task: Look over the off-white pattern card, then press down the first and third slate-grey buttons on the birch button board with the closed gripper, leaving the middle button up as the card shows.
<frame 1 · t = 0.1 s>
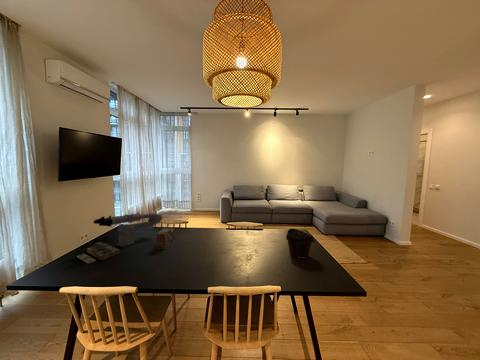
hand: (96, 223, 149), 22 cm above the table, tool horizontal, fingers open, 7 cm apart
button 1: (98, 245, 154), point 4 cm above the table, slide at 0.0 cm
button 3: (107, 249, 147), point 4 cm above the table, slide at 0.0 cm
stack of blocks: (166, 244, 170), on the table
black bin: (299, 255, 155), on the table
button 2: (103, 247, 150), point 4 cm above the table, slide at 0.0 cm
pattern card: (86, 258, 142), on the table
button board: (103, 253, 151), on the table
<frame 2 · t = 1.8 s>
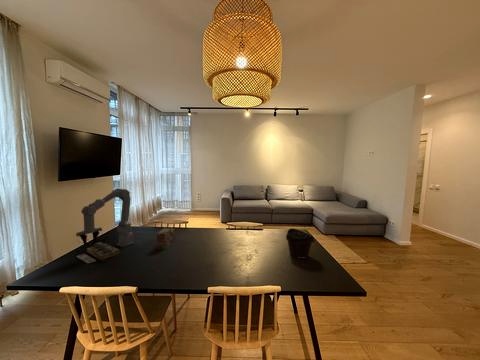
hand: (90, 243, 143), 9 cm above the table, tool pointing down, fingers open, 5 cm apart
nothing on the table moved.
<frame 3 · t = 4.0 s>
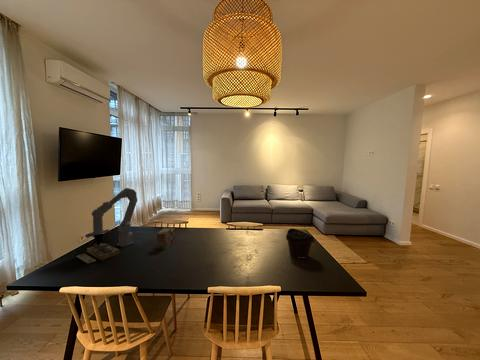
hand: (98, 244, 154), 5 cm above the table, tool pointing down, fingers closed, pressing on button 1
button 1: (98, 246, 154), point 3 cm above the table, slide at 0.8 cm, touching gripper
everything else where it was.
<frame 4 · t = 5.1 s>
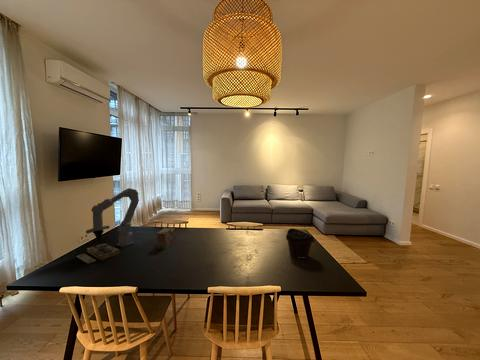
hand: (98, 240, 153), 8 cm above the table, tool pointing down, fingers closed
button 1: (98, 247, 154), point 2 cm above the table, slide at 1.9 cm
everything else where it was.
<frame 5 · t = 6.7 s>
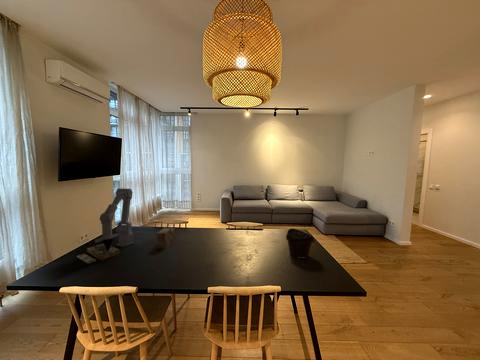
hand: (107, 249, 147), 4 cm above the table, tool pointing down, fingers closed, pressing on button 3
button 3: (107, 251, 147), point 3 cm above the table, slide at 1.3 cm, touching gripper
everything else where it was.
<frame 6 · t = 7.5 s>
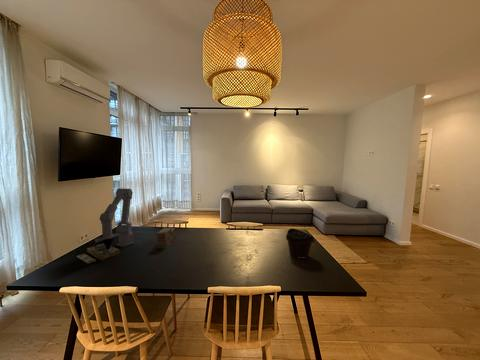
hand: (107, 249, 147), 4 cm above the table, tool pointing down, fingers closed
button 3: (107, 252, 147), point 2 cm above the table, slide at 1.9 cm
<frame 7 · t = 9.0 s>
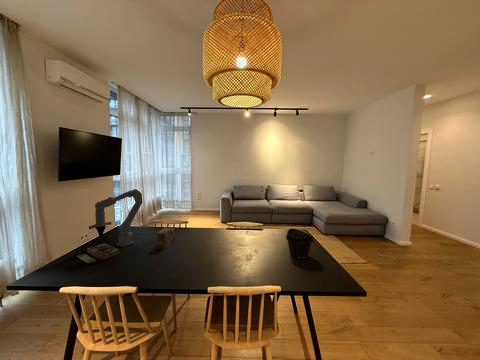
hand: (100, 236, 157), 9 cm above the table, tool pointing down, fingers closed
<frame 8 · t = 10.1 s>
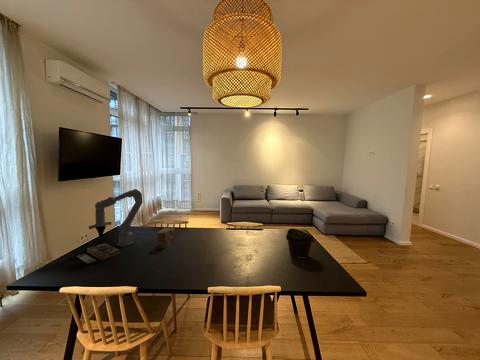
hand: (100, 236, 157), 9 cm above the table, tool pointing down, fingers closed
at the end: button 1 slide at 1.9 cm; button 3 slide at 1.9 cm; button 2 slide at 0.0 cm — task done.
